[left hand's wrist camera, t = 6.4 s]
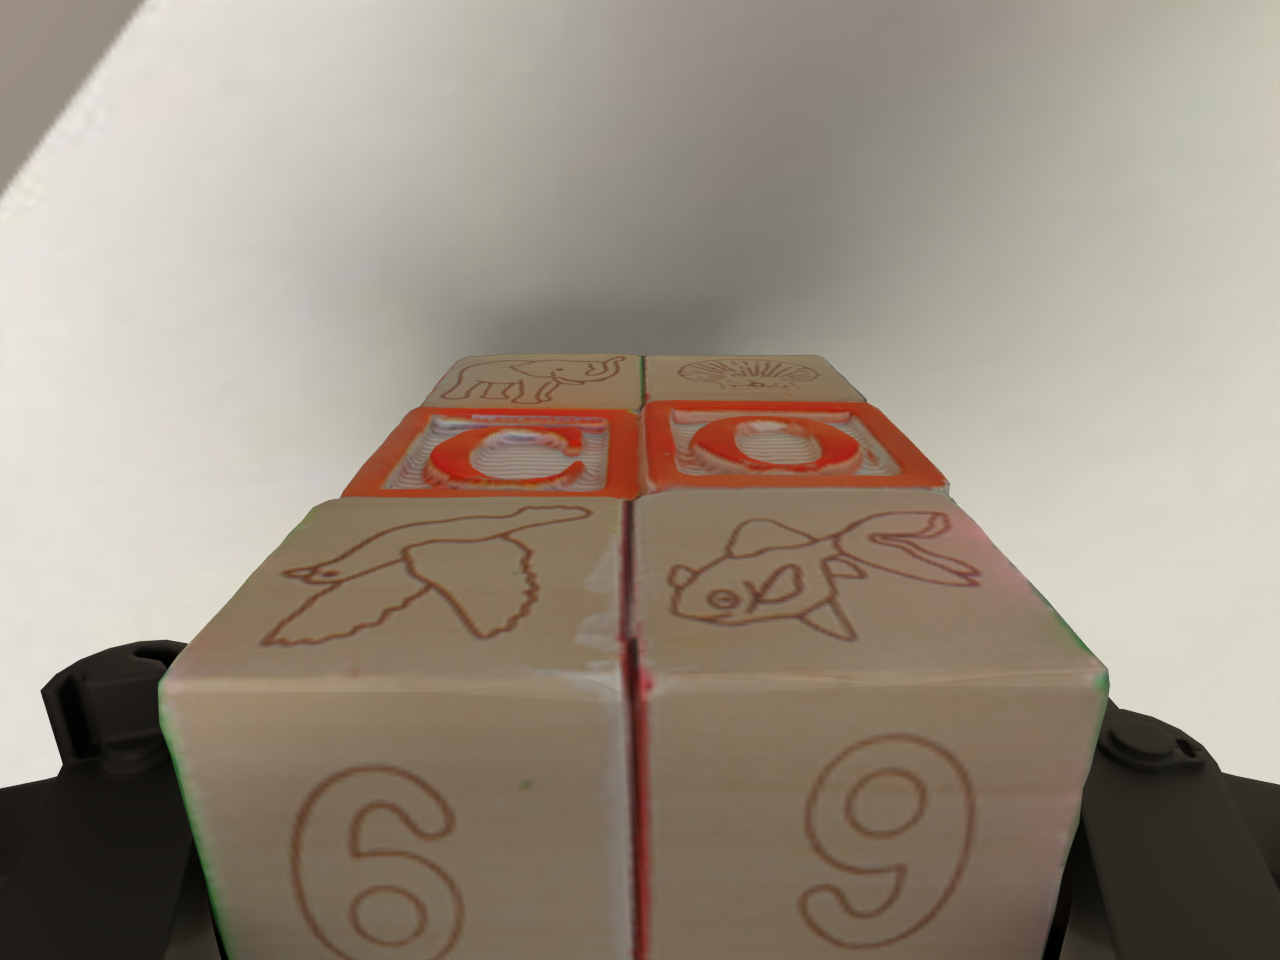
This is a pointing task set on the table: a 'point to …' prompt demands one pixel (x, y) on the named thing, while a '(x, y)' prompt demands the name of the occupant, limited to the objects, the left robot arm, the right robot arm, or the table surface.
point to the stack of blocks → (636, 688)
